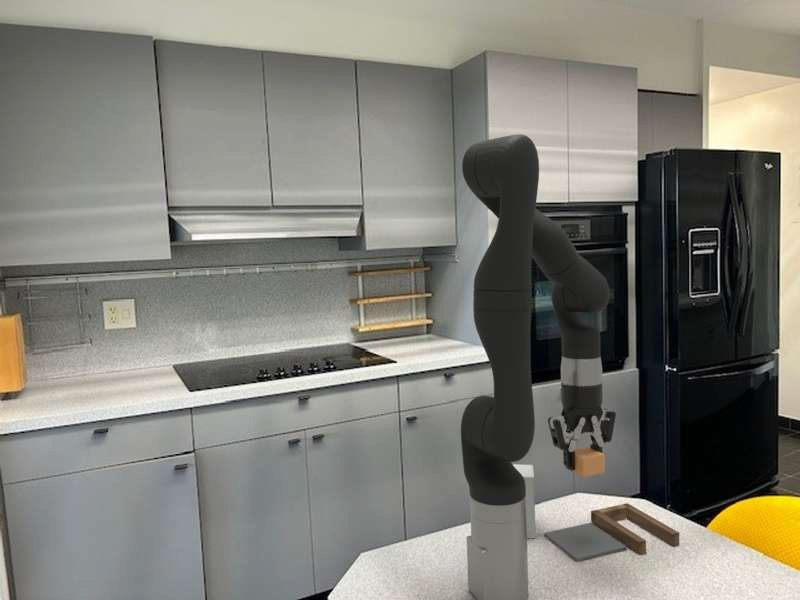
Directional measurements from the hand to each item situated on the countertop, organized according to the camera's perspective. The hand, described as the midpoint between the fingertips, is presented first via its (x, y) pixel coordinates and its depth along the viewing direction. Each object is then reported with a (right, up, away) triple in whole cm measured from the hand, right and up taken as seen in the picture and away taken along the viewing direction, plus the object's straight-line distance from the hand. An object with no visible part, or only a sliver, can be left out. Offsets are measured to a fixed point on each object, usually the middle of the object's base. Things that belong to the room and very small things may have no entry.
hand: (582, 466), depth 117 cm
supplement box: (-11, -15, +8) cm, 21 cm away
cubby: (+11, -14, +4) cm, 19 cm away
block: (0, -1, -1) cm, 1 cm away
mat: (+1, -15, +1) cm, 15 cm away
